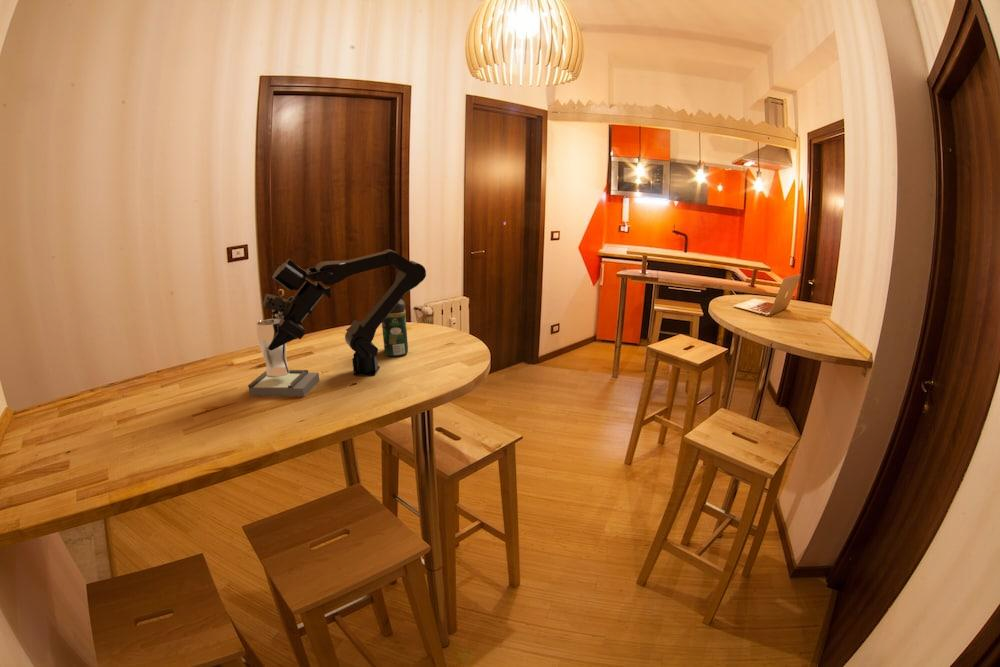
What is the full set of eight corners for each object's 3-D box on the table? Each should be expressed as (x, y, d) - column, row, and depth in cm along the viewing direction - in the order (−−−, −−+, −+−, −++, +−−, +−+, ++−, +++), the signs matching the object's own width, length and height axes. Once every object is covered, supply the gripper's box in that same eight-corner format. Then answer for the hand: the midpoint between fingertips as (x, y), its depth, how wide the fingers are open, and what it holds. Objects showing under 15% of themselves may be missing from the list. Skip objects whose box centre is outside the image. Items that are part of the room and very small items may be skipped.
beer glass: (296, 369, 143) (288, 318, 138) (283, 378, 136) (273, 325, 132) (274, 368, 144) (265, 318, 139) (259, 378, 137) (249, 325, 133)
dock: (319, 380, 147) (318, 370, 146) (304, 396, 137) (302, 385, 136) (269, 380, 148) (267, 369, 147) (250, 396, 137) (248, 385, 136)
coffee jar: (384, 348, 173) (379, 296, 167) (407, 346, 175) (403, 294, 169) (384, 358, 164) (379, 303, 158) (409, 356, 166) (405, 301, 160)
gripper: (274, 276, 142) (238, 320, 140) (284, 290, 126) (243, 339, 125) (307, 299, 148) (273, 342, 146) (320, 315, 133) (282, 362, 131)
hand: (267, 345), depth 137 cm, fingers closed on beer glass, 6 cm apart
